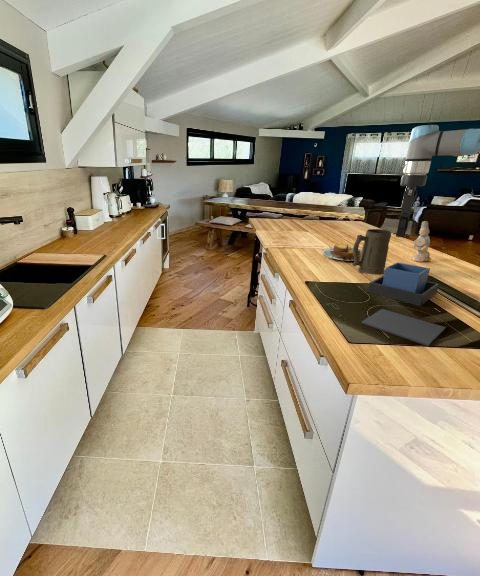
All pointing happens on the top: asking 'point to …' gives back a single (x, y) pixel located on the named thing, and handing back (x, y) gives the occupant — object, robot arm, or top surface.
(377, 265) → the beer stein
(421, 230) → the figurine
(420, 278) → the blue bin
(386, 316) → the mat
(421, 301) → the charcoal bin
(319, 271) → the top surface
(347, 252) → the food on plate
